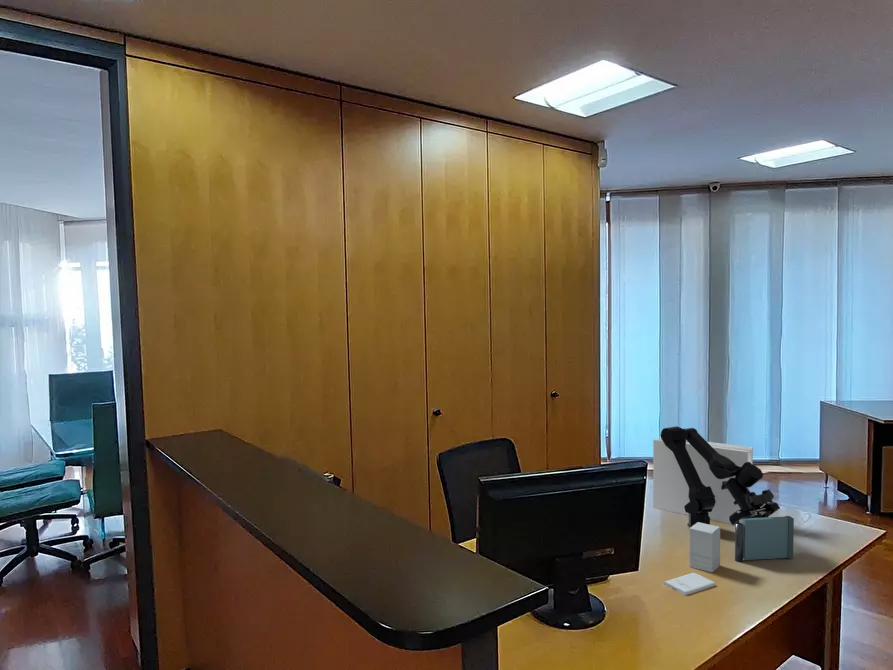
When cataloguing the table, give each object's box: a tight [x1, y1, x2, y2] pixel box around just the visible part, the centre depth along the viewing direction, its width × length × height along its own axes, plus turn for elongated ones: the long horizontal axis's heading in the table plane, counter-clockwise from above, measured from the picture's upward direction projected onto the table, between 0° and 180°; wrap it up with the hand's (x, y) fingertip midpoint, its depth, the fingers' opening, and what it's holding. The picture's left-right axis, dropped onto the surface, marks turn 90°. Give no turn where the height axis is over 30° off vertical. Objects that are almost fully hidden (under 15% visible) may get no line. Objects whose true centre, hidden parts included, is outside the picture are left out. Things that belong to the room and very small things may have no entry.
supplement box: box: [688, 522, 721, 573], centre depth 201 cm, size 7×7×13 cm
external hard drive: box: [663, 572, 716, 596], centre depth 189 cm, size 2×8×12 cm
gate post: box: [734, 523, 744, 563], centre depth 205 cm, size 2×2×12 cm
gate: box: [743, 515, 795, 561], centre depth 205 cm, size 16×2×13 cm, turn 94°
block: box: [652, 435, 754, 524], centre depth 248 cm, size 35×8×28 cm, turn 51°
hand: (770, 536), depth 207 cm, fingers closed
